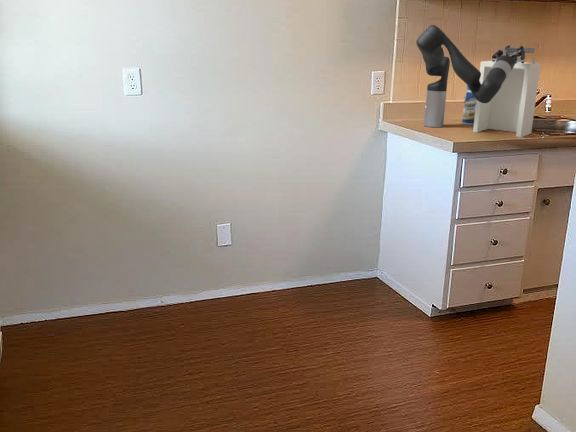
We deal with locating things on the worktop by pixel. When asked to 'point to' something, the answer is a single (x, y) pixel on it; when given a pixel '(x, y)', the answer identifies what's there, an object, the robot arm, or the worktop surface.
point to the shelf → (510, 100)
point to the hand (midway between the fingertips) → (515, 47)
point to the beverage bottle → (469, 108)
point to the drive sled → (512, 50)
